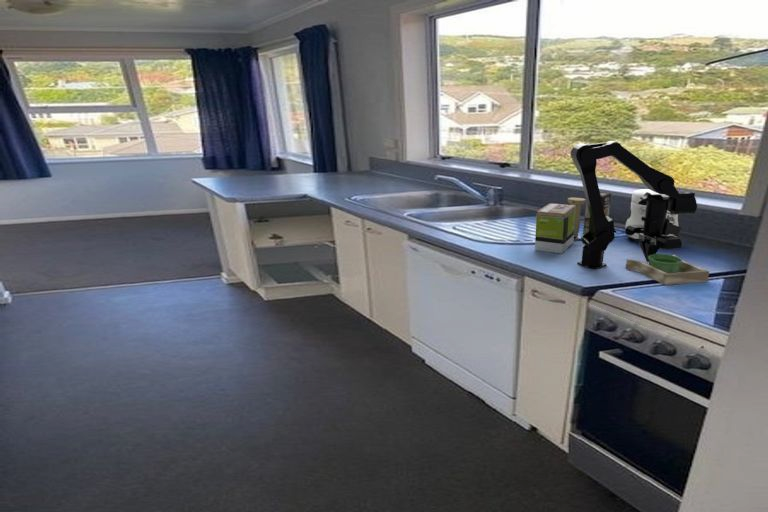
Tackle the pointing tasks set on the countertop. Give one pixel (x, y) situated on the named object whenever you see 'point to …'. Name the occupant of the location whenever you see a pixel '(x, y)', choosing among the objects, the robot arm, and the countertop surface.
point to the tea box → (555, 228)
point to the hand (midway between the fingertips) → (648, 262)
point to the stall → (685, 276)
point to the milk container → (644, 211)
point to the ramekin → (665, 262)
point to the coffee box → (606, 205)
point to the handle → (577, 212)
